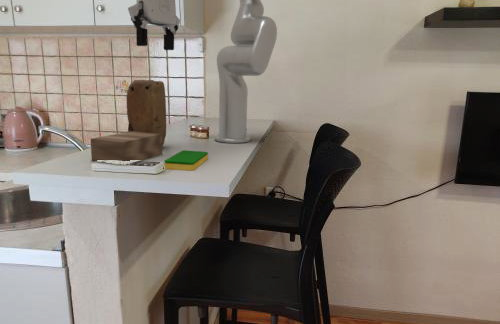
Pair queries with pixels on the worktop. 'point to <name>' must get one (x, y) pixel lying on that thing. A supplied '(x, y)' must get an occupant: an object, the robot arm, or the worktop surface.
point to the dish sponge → (186, 160)
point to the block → (147, 107)
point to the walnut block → (126, 146)
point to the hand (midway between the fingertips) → (155, 47)
